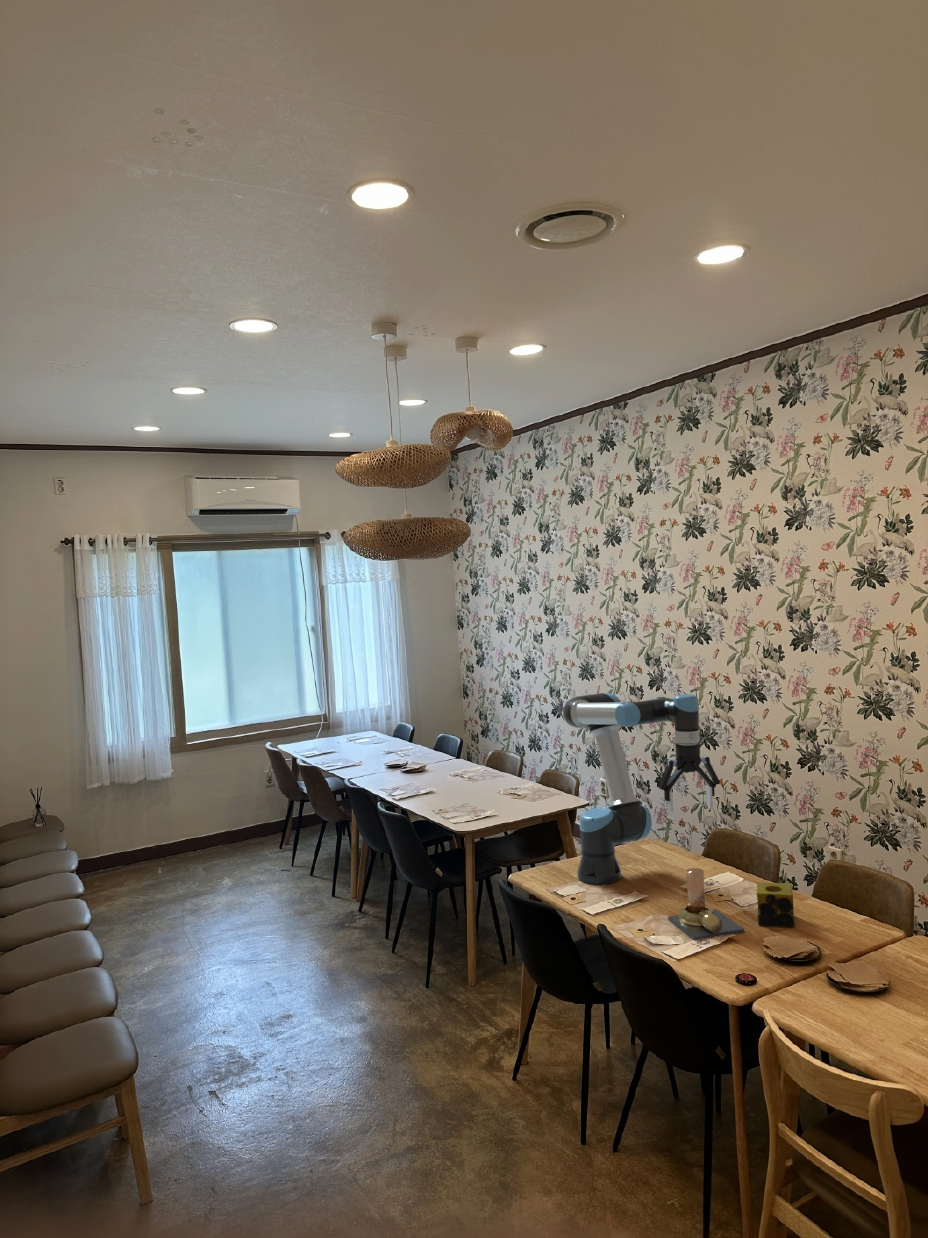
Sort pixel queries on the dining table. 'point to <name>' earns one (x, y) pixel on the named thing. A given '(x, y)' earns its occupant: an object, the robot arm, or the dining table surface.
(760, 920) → the olive cube piece
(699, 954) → the dining table surface
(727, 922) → the fitting base
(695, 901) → the pipe stub
